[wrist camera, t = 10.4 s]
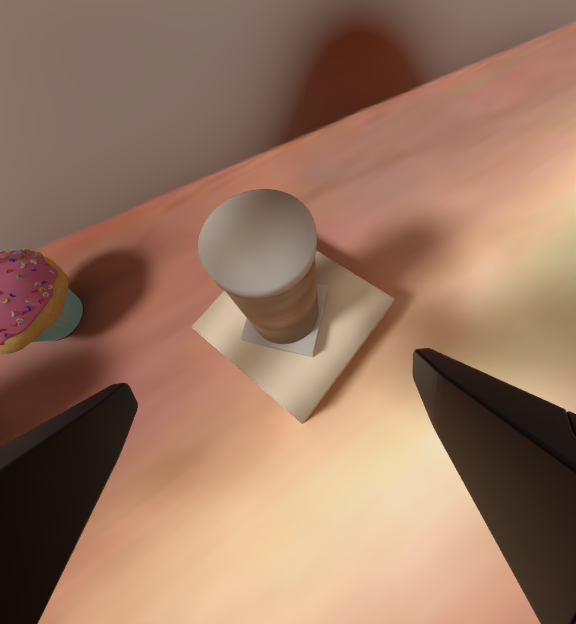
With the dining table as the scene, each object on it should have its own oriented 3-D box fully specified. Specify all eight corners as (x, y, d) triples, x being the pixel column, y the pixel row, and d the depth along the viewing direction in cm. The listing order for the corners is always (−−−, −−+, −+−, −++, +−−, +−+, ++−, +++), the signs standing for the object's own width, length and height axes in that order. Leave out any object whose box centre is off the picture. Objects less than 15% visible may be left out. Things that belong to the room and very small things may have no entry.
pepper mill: (327, 291, 21) (329, 193, 12) (313, 357, 20) (302, 304, 10) (262, 279, 22) (218, 182, 13) (244, 342, 21) (178, 281, 11)
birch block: (386, 312, 23) (394, 298, 20) (305, 422, 21) (302, 423, 18) (285, 248, 26) (280, 228, 24) (206, 336, 24) (191, 326, 22)
